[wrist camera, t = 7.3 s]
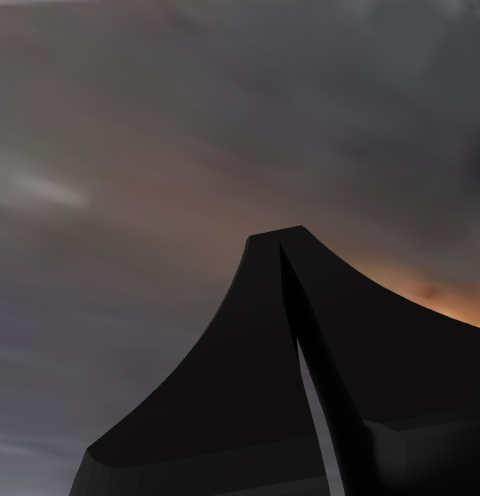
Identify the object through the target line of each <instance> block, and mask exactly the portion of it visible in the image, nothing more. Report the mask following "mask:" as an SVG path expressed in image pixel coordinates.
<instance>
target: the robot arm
mask: <svg viewBox="0 0 480 496" xmlns="http://www.w3.org/2000/svg"><path fill="white" fill-rule="evenodd" d="M296 336H297V337H296ZM297 339H298V342H299V344H300V347H301V350H302V353H303V356H304V359H305V361H306V364H307V367H308V370H309V373H310V376H311V378H312V381H313V384H314V387H315V390H316V393H317V395H318V398H319V401H320V404H321V407H322V409H323V412H324V415H325V419H326V422H327V425H328V428H329V432H330V435H331V439H332V443H333V447H334V451H335V455H336V459H337V463H338V467H339V471H340V475H341V480H342V484H343V488H344V492H345V496H480V328H479V327H476V326H473V325H470V324H467V323H464V322H462V321H459V320H456V319H453V318H450V317H448V316H445V315H443V314H440V313H438V312H436V311H433V310H431V309H428V308H426V307H423V306H421V305H419V304H416V303H414V302H412V301H410V300H408V299H406V298H404V297H402V296H400V295H398V294H396V293H394V292H392V291H390V290H388V289H386V288H384V287H383V286H381V285H379V284H377V283H376V282H374V281H372V280H371V279H369V278H368V277H366V276H365V275H363V274H362V273H360V272H359V271H357V270H356V269H354V268H353V267H351V266H350V265H349V264H347V263H346V262H345V261H343V260H342V259H341V258H340V257H338V256H337V255H336V254H334V253H333V252H332V251H331V250H329V249H328V248H327V247H326V246H325V245H324V244H322V243H321V242H320V241H319V240H318V239H317V238H316V237H315V236H313V235H312V234H311V233H310V232H309V231H308V230H307V229H306V228H305V227H303V226H302V225H300V226H295V227H290V228H285V229H280V230H276V231H271V232H266V233H261V234H256V235H251V236H249V238H248V239H247V240H246V245H245V249H244V253H243V256H242V259H241V262H240V264H239V267H238V270H237V272H236V274H235V277H234V279H233V281H232V284H231V286H230V288H229V290H228V292H227V294H226V296H225V298H224V300H223V302H222V303H221V305H220V307H219V309H218V311H217V313H216V314H215V316H214V318H213V319H212V321H211V322H210V324H209V326H208V327H207V329H206V330H205V332H204V333H203V334H202V336H201V337H200V339H199V340H198V342H197V343H196V344H195V345H194V347H193V348H192V349H191V351H190V352H189V353H188V354H187V356H186V357H185V358H184V359H183V361H182V362H181V363H180V364H179V365H178V367H177V368H176V369H175V370H174V371H173V372H172V373H171V374H170V375H169V376H168V377H167V378H166V379H165V381H164V382H163V383H162V384H161V385H160V386H159V387H158V388H157V389H156V390H155V391H153V392H152V393H151V394H150V395H149V396H148V397H147V398H146V399H145V400H144V401H143V402H142V403H141V404H140V405H139V406H138V407H136V408H135V409H134V410H133V411H132V412H131V413H130V414H128V415H127V416H126V417H125V418H124V419H122V420H121V421H120V422H119V423H117V424H116V425H115V426H114V427H113V428H111V429H110V430H109V431H108V432H107V433H105V434H104V435H103V436H102V437H101V438H99V439H98V440H97V441H96V442H94V443H93V444H92V445H90V446H89V447H88V448H87V449H86V451H85V454H84V457H83V460H82V462H81V465H80V467H79V470H78V472H77V474H76V477H75V479H74V482H73V485H72V488H71V491H70V494H69V496H330V490H329V485H328V480H327V475H326V471H325V467H324V463H323V458H322V454H321V450H320V446H319V441H318V437H317V433H316V429H315V426H314V422H313V418H312V415H311V411H310V407H309V403H308V399H307V396H306V392H305V388H304V384H303V380H302V376H301V370H300V362H299V354H298V345H297Z"/></svg>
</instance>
